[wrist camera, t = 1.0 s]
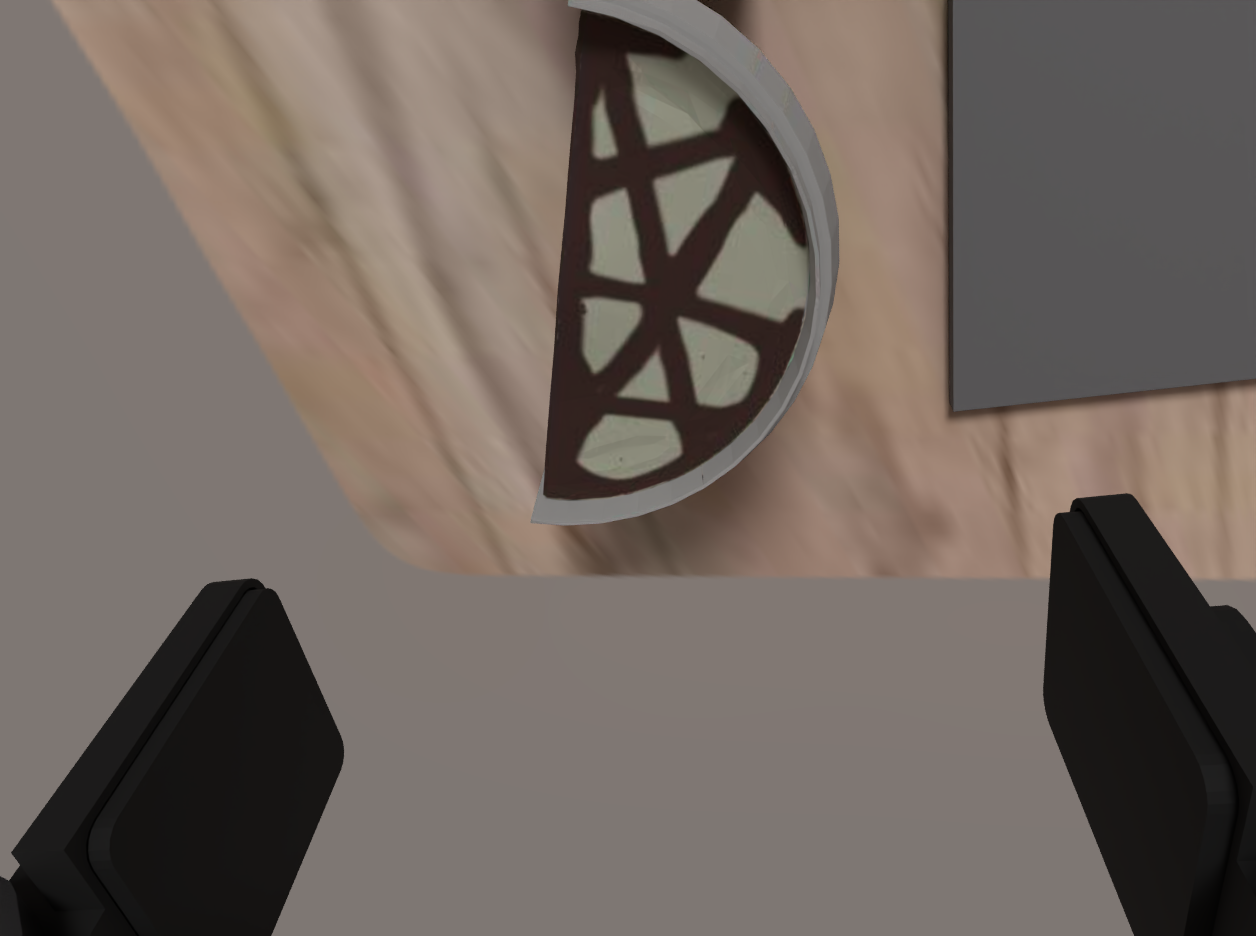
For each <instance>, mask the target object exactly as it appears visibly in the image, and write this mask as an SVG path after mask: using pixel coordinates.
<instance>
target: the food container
mask: <svg viewBox="0 0 1256 936" xmlns="http://www.w3.org/2000/svg"><path fill="white" fill-rule="evenodd" d="M568 6H571V7H575V8H579V9H583V10H581V15H580V20H579V36H578V41H577V46H576V51H575V57H576V83H575V99H574V111H573V122H572V133H571V145H570V156H569V169H568V182H567V195H566V208H565V219H564V230H563V241H562V251H561V262H560V273H559V284H558V295H557V311H556V328H555V344H554V357H553V368H552V380H551V392H550V405H549V418H548V430H547V443H546V457H545V469H544V472H543V476H542V480H541V484H540V487H539V491H538V495H537V499H536V502H535V506H534V510H533V514H532V517H531V523H537V524H552V525H581V524H599V523H606V522H611V521H617V520H622V519H627V518H632V517H637V516H640V515H643V514H646V513H649V512H652V511H655V510H658V509H661V508H664V507H667V506H670V505H673V504H675V503H676V502H678V501H680V500H682V499H684V498H686V497H688V496H690V495H692V494H694V493H696V492H698V491H700V490H702V489H704V488H706V487H707V486H708V485H710V484H711V483H713V482H714V481H715V480H717V479H718V478H720V477H721V476H722V475H724V474H725V473H727V472H728V471H729V470H731V469H732V468H733V467H735V466H736V465H737V464H738V463H739V462H740V461H742V460H743V459H744V458H745V457H746V456H747V455H748V454H749V453H750V452H751V451H752V450H753V449H755V448H756V447H757V446H758V445H759V444H760V443H761V442H762V441H763V440H764V439H765V438H766V437H767V436H768V435H769V434H770V433H771V432H772V430H773V429H774V428H775V426H776V425H777V424H778V422H779V421H780V420H781V418H782V417H783V416H784V414H785V413H786V412H787V410H788V409H789V408H790V406H791V405H792V404H793V402H794V401H795V399H796V397H797V395H798V393H799V391H800V389H801V388H802V386H803V384H804V382H805V380H806V378H807V376H808V374H809V372H810V370H811V368H812V366H813V363H814V361H815V358H816V355H817V352H818V349H819V346H820V343H821V340H822V336H823V333H824V330H825V327H826V324H827V321H828V318H829V315H830V312H831V309H832V306H833V301H834V294H835V288H836V281H837V274H838V268H839V218H838V212H837V207H836V202H835V196H834V191H833V185H832V180H831V175H830V172H829V169H828V166H827V163H826V161H825V158H824V155H823V152H822V150H821V147H820V144H819V141H818V139H817V136H816V133H815V130H814V128H813V127H812V125H811V123H810V121H809V120H808V118H807V116H806V114H805V112H804V111H803V109H802V107H801V105H800V104H799V102H798V100H797V98H796V97H795V95H794V93H793V91H792V90H791V88H790V87H789V85H788V84H787V83H786V82H785V80H784V79H783V78H782V77H781V75H780V74H779V73H778V72H777V70H776V69H775V68H774V67H773V66H772V64H771V63H770V62H769V61H768V59H767V58H766V57H765V56H764V54H763V53H762V52H761V51H760V49H758V48H757V47H756V46H755V45H754V44H753V43H752V42H751V41H749V40H748V39H747V38H746V37H745V36H744V35H743V34H741V33H740V32H739V31H738V30H737V29H736V28H735V27H734V26H732V25H731V24H730V23H729V22H728V21H727V20H726V19H725V18H723V17H722V16H721V15H719V14H718V13H716V12H715V11H713V10H711V9H710V8H708V7H707V6H705V5H703V4H702V3H700V2H699V1H697V0H569V1H568Z"/></svg>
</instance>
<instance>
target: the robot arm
mask: <svg viewBox="0 0 1256 936" xmlns="http://www.w3.org/2000/svg"><path fill="white" fill-rule="evenodd" d="M1049 588H1050V589H1049V603H1048V620H1047V637H1046V652H1045V668H1044V669H1045V670H1044V685H1043V696H1044V705H1045V710H1046V715H1047V718H1048V721H1049V724H1050V727H1051V729H1052V732H1053V734H1054V737H1055V739H1056V742H1057V744H1058V747H1059V749H1060V752H1061V754H1062V757H1063V759H1064V762H1065V764H1066V767H1067V769H1068V772H1069V774H1070V777H1071V779H1072V782H1073V784H1074V787H1075V789H1076V792H1077V794H1078V797H1079V799H1080V802H1081V804H1082V806H1083V809H1084V812H1085V814H1086V817H1087V819H1088V822H1089V824H1090V827H1091V829H1092V832H1093V834H1094V837H1095V839H1096V842H1097V844H1098V847H1099V849H1100V852H1101V854H1102V857H1103V859H1104V862H1105V864H1106V867H1107V869H1108V872H1109V874H1110V877H1111V879H1112V882H1113V884H1114V887H1115V889H1116V892H1117V894H1118V897H1119V899H1120V902H1121V904H1122V906H1123V909H1124V912H1125V914H1126V917H1127V919H1128V922H1129V924H1130V927H1131V929H1132V932H1133V934H1134V936H1256V633H1255V631H1254V630H1253V628H1252V627H1251V625H1250V624H1249V623H1248V621H1247V620H1246V619H1245V618H1244V617H1243V616H1242V615H1241V613H1240V612H1239V611H1238V610H1237V609H1235V608H1233V607H1230V606H1228V605H1224V606H1211V607H1210V606H1209V604H1208V603H1207V602H1206V600H1205V599H1204V597H1203V596H1202V594H1201V593H1200V591H1199V590H1198V588H1197V587H1196V585H1195V584H1194V583H1193V581H1192V580H1191V578H1190V577H1189V575H1188V574H1187V572H1186V571H1185V569H1184V568H1183V567H1182V565H1181V564H1180V562H1179V561H1178V559H1177V558H1176V556H1175V555H1174V553H1173V552H1172V551H1171V549H1170V548H1169V546H1168V545H1167V543H1166V542H1165V540H1164V539H1163V538H1162V536H1161V535H1160V533H1159V532H1158V530H1157V529H1156V527H1155V526H1154V524H1153V523H1152V522H1151V520H1150V519H1149V517H1148V516H1147V514H1146V513H1145V511H1144V510H1143V508H1142V507H1141V506H1140V504H1139V503H1138V501H1137V500H1136V499H1135V498H1134V497H1133V495H1131V494H1127V493H1126V494H1116V495H1106V496H1096V497H1085V498H1076V499H1075V500H1073V502H1072V505H1071V508H1070V512H1065V513H1058V514H1056V516H1055V518H1054V524H1053V538H1052V555H1051V571H1050V587H1049ZM343 759H344V746H343V741H342V738H341V735H340V733H339V731H338V729H337V726H336V724H335V722H334V720H333V717H332V715H331V713H330V711H329V709H328V706H327V704H326V702H325V700H324V697H323V695H322V693H321V691H320V688H319V686H318V684H317V681H316V679H315V677H314V675H313V673H312V670H311V668H310V666H309V664H308V661H307V659H306V657H305V655H304V652H303V650H302V648H301V646H300V643H299V641H298V639H297V637H296V634H295V632H294V630H293V628H292V625H291V623H290V621H289V619H288V617H287V614H286V612H285V610H284V608H283V605H282V603H281V601H280V599H279V597H278V595H277V593H276V592H275V591H273V590H272V589H269V588H267V589H266V588H265V587H264V585H263V584H262V583H261V582H260V581H259V580H257V579H252V578H251V579H241V580H231V581H221V582H213V583H209V584H207V585H206V586H205V587H204V588H203V589H202V590H201V592H200V593H199V594H198V596H197V597H196V598H195V600H194V601H193V602H192V604H191V605H190V607H189V608H188V609H187V611H186V612H185V614H184V615H183V616H182V618H181V619H180V621H179V622H178V623H177V625H176V626H175V627H174V629H173V630H172V632H171V633H170V634H169V636H168V637H167V639H166V640H165V641H164V643H163V644H162V645H161V647H160V648H159V650H158V651H157V652H156V654H155V655H154V656H153V658H152V659H151V661H150V662H149V663H148V665H147V666H146V667H145V669H144V670H143V671H142V673H141V674H140V676H139V677H138V678H137V680H136V681H135V683H134V684H133V685H132V687H131V688H130V690H129V691H128V692H127V694H126V695H125V696H124V698H123V699H122V700H121V702H120V703H119V705H118V706H117V707H116V709H115V710H114V712H113V713H112V714H111V716H110V717H109V718H108V720H107V721H106V723H105V724H104V725H103V727H102V728H101V730H100V731H99V732H98V734H97V735H96V736H95V738H94V739H93V741H92V742H91V743H90V745H89V746H88V747H87V749H86V750H85V752H84V753H83V754H82V756H81V757H80V759H79V760H78V761H77V763H76V764H75V766H74V767H73V768H72V770H71V771H70V772H69V774H68V775H67V776H66V778H65V779H64V781H63V782H62V783H61V785H60V786H59V787H58V789H57V790H56V792H55V793H54V794H53V796H52V797H51V798H50V800H49V801H48V803H47V804H46V805H45V807H44V808H43V810H42V811H41V812H40V814H39V815H38V816H37V818H36V819H35V821H34V822H33V823H32V825H31V826H30V827H29V829H28V830H27V832H26V833H25V835H24V836H23V837H22V838H21V840H20V841H19V843H18V844H17V845H16V847H15V848H14V850H13V851H12V852H11V853H12V855H13V856H14V857H15V859H16V860H17V861H18V863H19V864H20V866H19V868H18V869H17V870H16V872H15V873H14V875H13V876H12V877H11V879H10V880H9V881H8V880H6V879H5V878H3V877H1V876H0V936H271V935H272V933H273V930H274V928H275V925H276V923H277V921H278V918H279V916H280V914H281V911H282V909H283V906H284V904H285V902H286V899H287V897H288V895H289V892H290V890H291V887H292V885H293V883H294V880H295V878H296V875H297V873H298V871H299V868H300V866H301V864H302V861H303V859H304V856H305V854H306V851H307V849H308V847H309V845H310V842H311V840H312V837H313V835H314V833H315V830H316V828H317V825H318V823H319V821H320V818H321V816H322V813H323V811H324V809H325V806H326V804H327V802H328V799H329V797H330V795H331V792H332V790H333V787H334V785H335V783H336V780H337V778H338V775H339V773H340V771H341V767H342V764H343Z"/></svg>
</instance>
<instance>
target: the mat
mask: <svg viewBox="0 0 1256 936" xmlns="http://www.w3.org/2000/svg"><path fill="white" fill-rule="evenodd" d="M948 73H949V344H950V405H951V407H952V409H953V412H954V411H964V410H973V409H982V408H991V407H1000V406H1010V405H1019V404H1028V403H1037V402H1046V401H1055V400H1065V399H1074V398H1083V397H1092V396H1101V395H1110V394H1120V393H1129V392H1138V391H1147V390H1156V389H1165V388H1175V387H1184V386H1193V385H1202V384H1211V383H1221V382H1230V381H1239V380H1248V379H1256V0H948Z"/></svg>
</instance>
